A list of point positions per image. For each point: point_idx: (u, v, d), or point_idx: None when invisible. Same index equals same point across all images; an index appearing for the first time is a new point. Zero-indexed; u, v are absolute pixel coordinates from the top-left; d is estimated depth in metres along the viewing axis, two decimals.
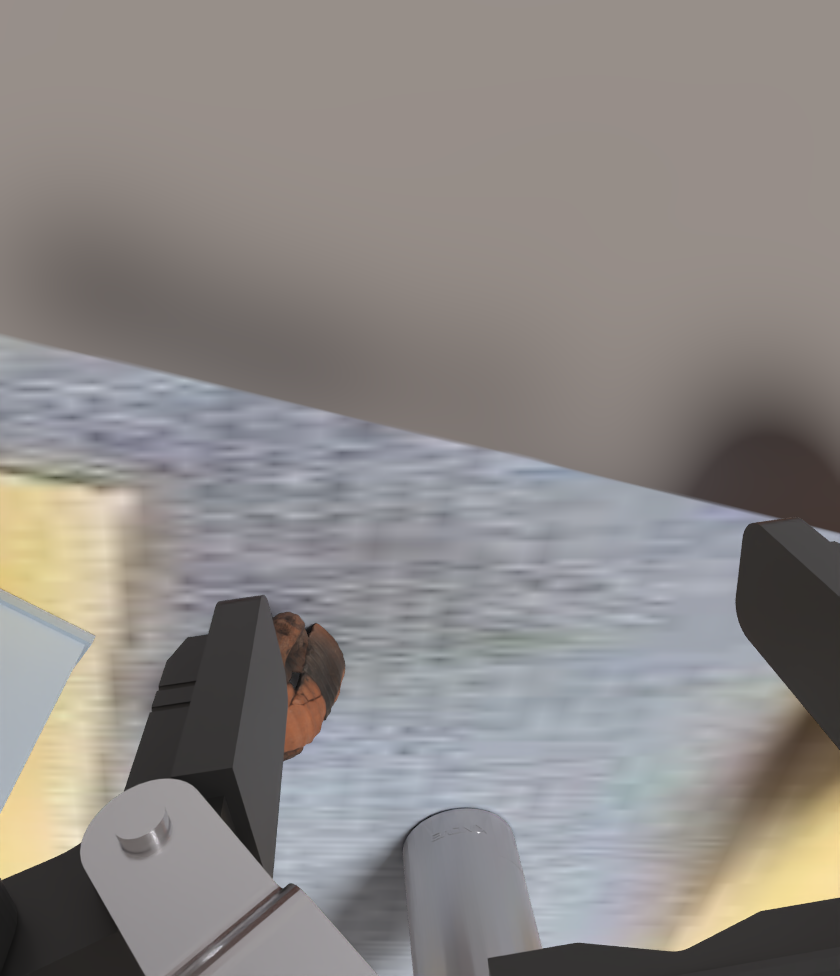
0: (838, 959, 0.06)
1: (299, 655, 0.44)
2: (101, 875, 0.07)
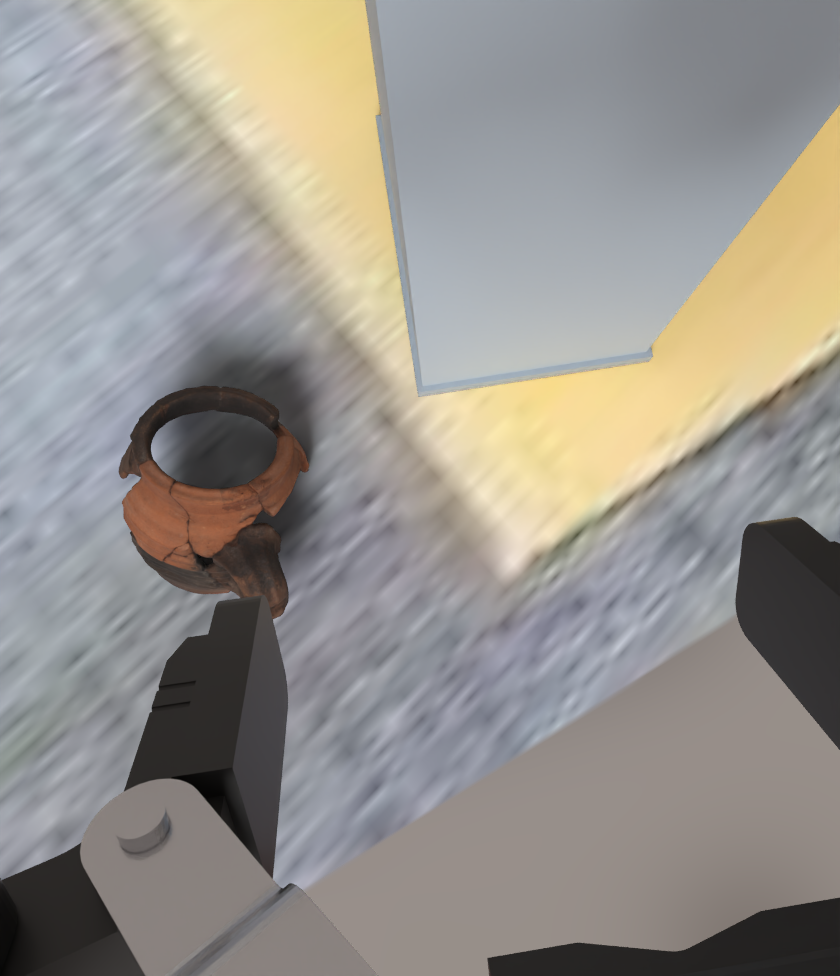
0: (838, 959, 0.06)
1: (223, 577, 0.34)
2: (101, 875, 0.07)
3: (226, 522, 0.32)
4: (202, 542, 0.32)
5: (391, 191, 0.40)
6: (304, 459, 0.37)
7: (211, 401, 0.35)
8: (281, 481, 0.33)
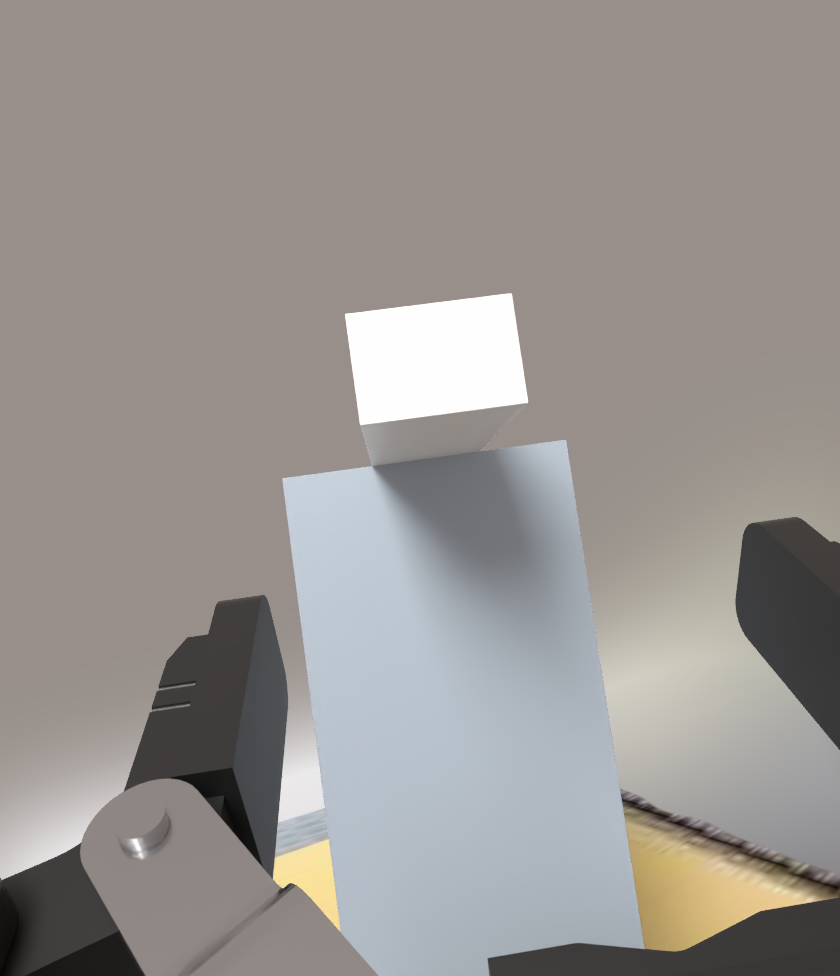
0: (838, 959, 0.06)
1: None
2: (101, 875, 0.07)
3: None
4: None
5: None
6: None
7: None
8: None
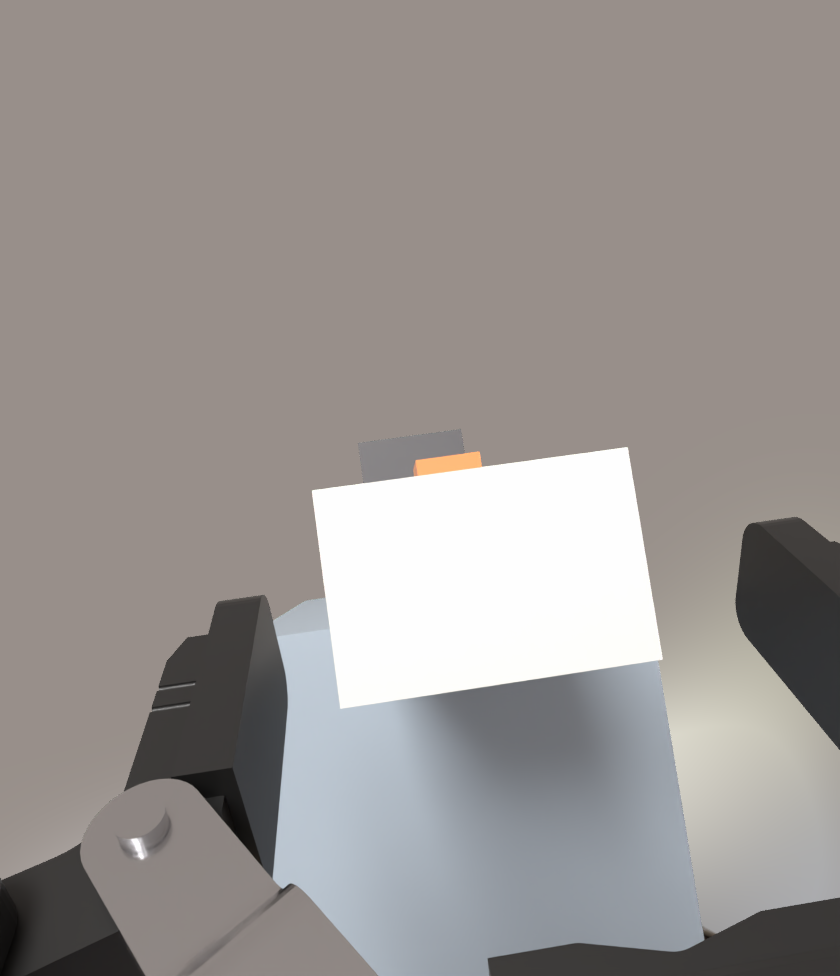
0: (838, 959, 0.06)
1: None
2: (101, 875, 0.07)
3: None
4: None
5: None
6: None
7: None
8: None
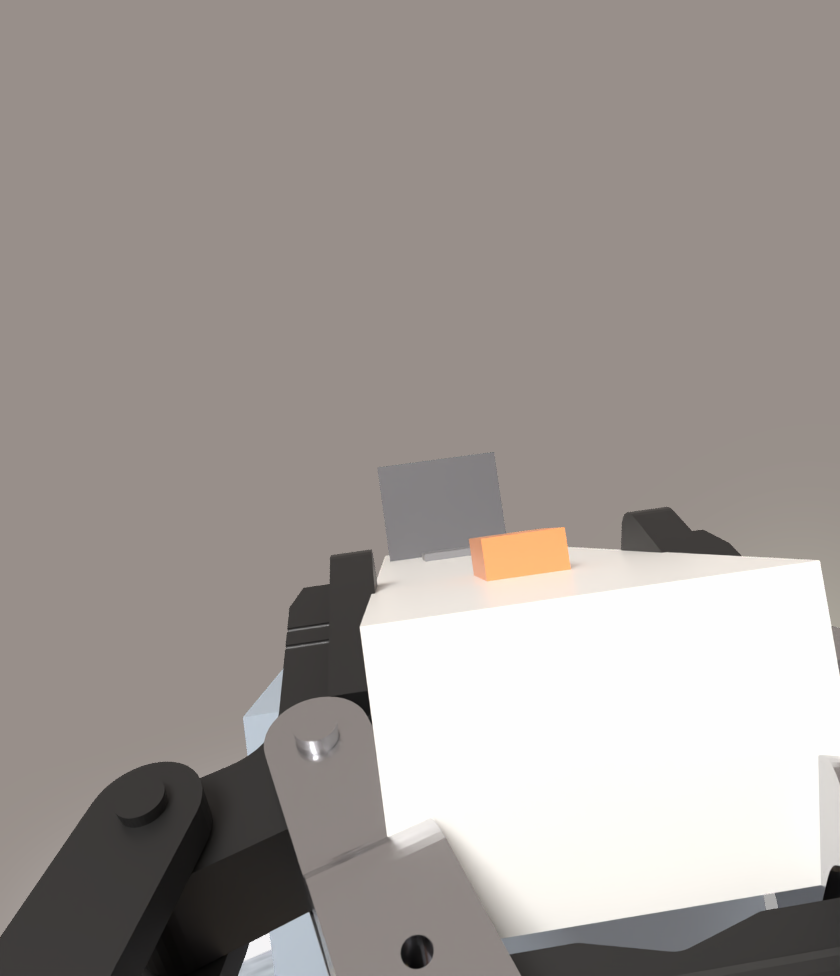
0: (838, 959, 0.06)
1: None
2: (290, 771, 0.08)
3: None
4: None
5: None
6: None
7: None
8: None
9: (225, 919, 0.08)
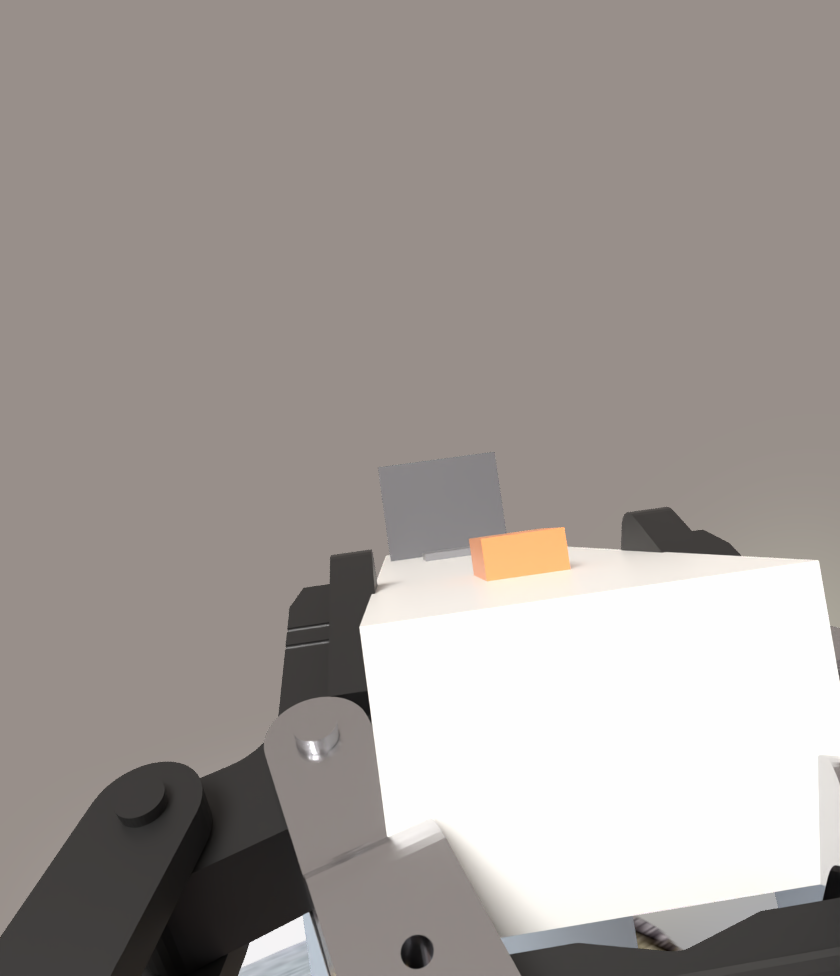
0: (838, 959, 0.06)
1: None
2: (290, 771, 0.08)
3: None
4: None
5: None
6: None
7: None
8: None
9: (225, 919, 0.08)
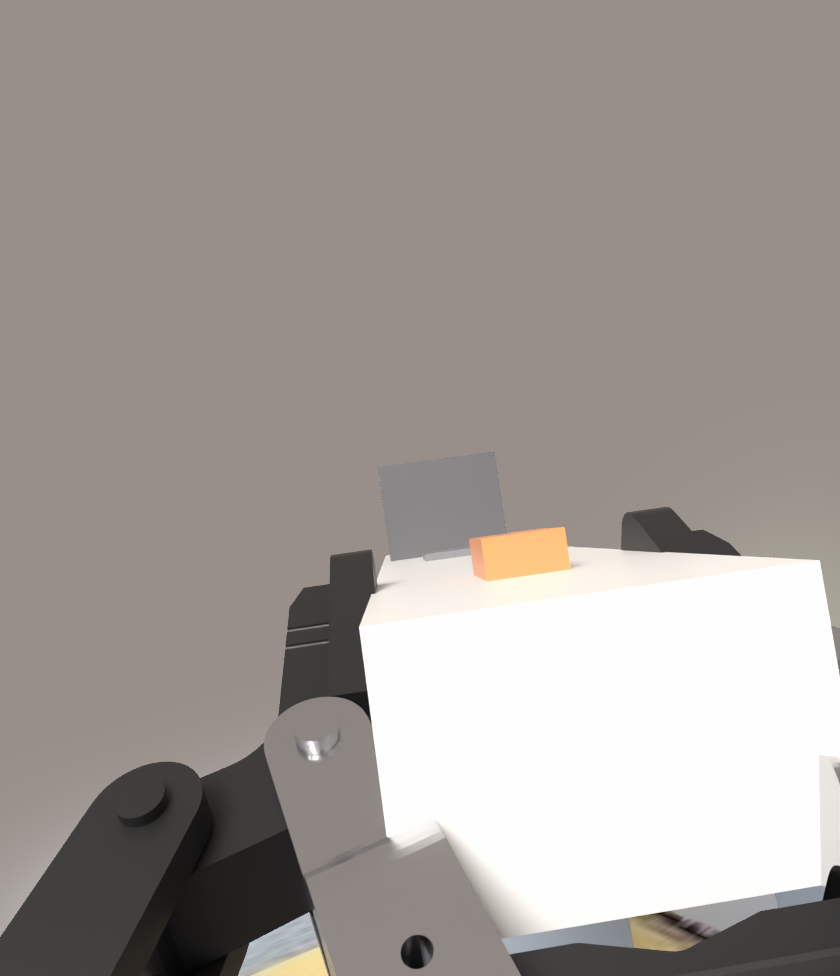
0: (838, 959, 0.06)
1: None
2: (290, 771, 0.08)
3: None
4: None
5: None
6: None
7: None
8: None
9: (225, 919, 0.08)
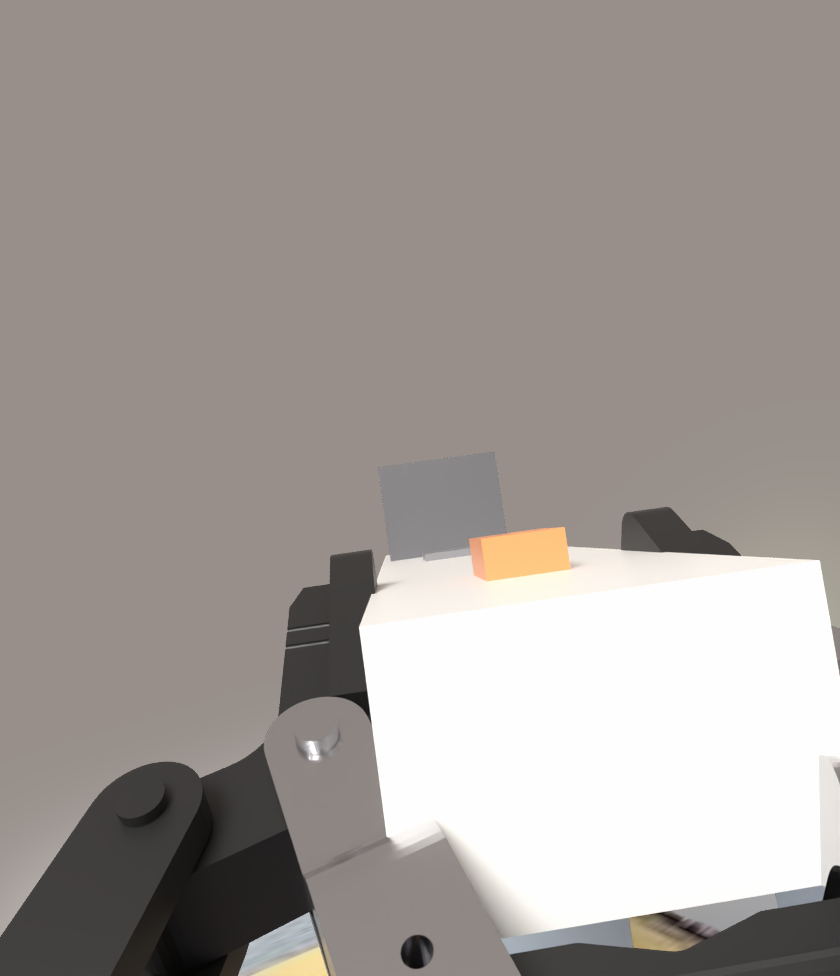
0: (838, 959, 0.06)
1: None
2: (290, 771, 0.08)
3: None
4: None
5: None
6: None
7: None
8: None
9: (225, 919, 0.08)
